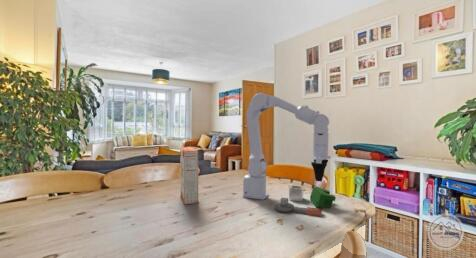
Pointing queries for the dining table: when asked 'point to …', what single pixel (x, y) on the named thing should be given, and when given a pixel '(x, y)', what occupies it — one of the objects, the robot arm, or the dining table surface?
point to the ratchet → (295, 208)
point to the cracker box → (189, 175)
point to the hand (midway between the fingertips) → (319, 179)
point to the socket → (296, 193)
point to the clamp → (321, 197)
